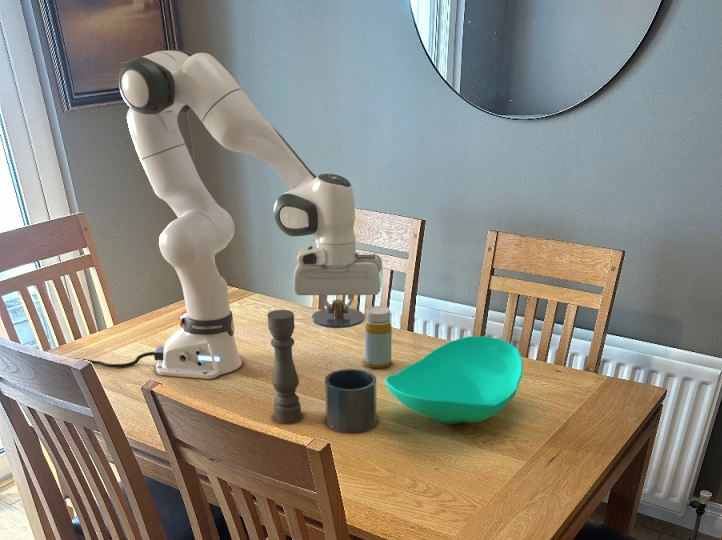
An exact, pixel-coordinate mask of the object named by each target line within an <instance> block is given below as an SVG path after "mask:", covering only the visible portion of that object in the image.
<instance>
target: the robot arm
mask: <svg viewBox="0 0 722 540" xmlns="http://www.w3.org/2000/svg"><path fill="white" fill-rule="evenodd" d="M118 88H119V91H120V94H121V97H122V98H123V100H124V102H125V103H126V105H127V106H128V107H129V108H128V109H127V114H126V120H127V124H128V128H129V132H130V135H131V138H132V141H133V144H134V147H135V150H136V153H137V155H138V157H139V160H140V162H141V165H142V166H143V169H144V171H145V174H146V175H147V178H148V180H149V183H150V185H151V187H152V190H153V192H154V194H155V195H156V196H157V197H158V198H159V199H160V200H163V201H164V202H165V203H166V204H167V205H168V207H170V208H171V209H172V211H173V212H174V214H175V215H176V217H177V218H176V219H174V220H172V221H170V223H168V224H167V226H165V228H164V229H163V230H162V232H161V233H160V235H159V237H158V238H159V239H158V247H159V250H160V254H161V255H162V257H163V258H164V259H165V262H167V263H168V264H170V266H172V267H173V268H174V270H175V272H176V274H177V276H178V279H179V281H180V285H181V288H182V294H183V298H184V305H185V309H183V310H182V311H181V313H180V317H179V326H180V327H181V328H179V329H178V330H177V331H176V332H175V333H173V334H172V335H171V336H170V337H169V338H168V339H167V340H166V342H165V344H164V346H163V345H162V346H161V345H158V346H157V347H156V349H154V351H149V352H144V353H141V354H139V355H137V356H136V358H135V359H134V360H133V361H130V362H127V363H107V362H104V361H100V360H93V359H87V358H82V359H83V360H88V361H90V362H92V365H97V366H98V365H99V366H102V367H106V368H112V369H113V368H116V369H117V368H127V367H132V366H134V365H136V364H138V363H139V361H140V360H141V359H143V358H146V357H149V356H150V357H151V356H153V357H154V360H155V361H157V362H156V365H155V370H156V373H157V374H158V375H159V376H160V375H161V376H169V377H180V378H181V377H182V378H194V379H205V380H206V379H207V380H212V379H216V378H217V377H219V376H221V375H224V374H227V373H232V372H234V371H236V370H237V369H239V368H240V367H241V366H242V365H243V359H242V358H241V355H240V353H239V350H238V346H237V344H236V338H235V323H234V321H235V320H234V317H233V312H232V310H231V306H230V298H229V297H230V296H229V289H228V283H227V281H226V279H225V278H224V277H223V276H221V274H220V272H219V269H218V267H217V264H216V261H215V260H216V259H215V257H216V254H218V253H219V252H221V251H223V250H224V249H226V248H227V246H228V245H229V244H230V242H232V239H233V237H234V235H235V230H236V229H235V223H234V220H233V218H232V216H231V214H230V213H229V212H228V211H227V210H225V209H224V208H223V207H221V206H220V205H219V204H218V203H217V201H216V200H215V198H213V196H212V194H211V193H210V192H209V191H208V189H207V187H206V186H205V183H203V181H202V179H201V177H200V175H199V173H198V170H197V169H196V166H195V164H194V161H193V159H192V156H191V154H190V152H189V149H188V147H187V144H186V141H185V139H184V137H183V135H182V133H181V130H180V127H179V124H178V116H179V113H180V112H181V113H187V112H188V111H189V109H191V110H192V111H193V112H194V113H195V115H196V116H197V117H198V119H199V120H200V122H201V124H203V126H204V127H205V128H206V131H208V133H209V134H210V135H211V137H212V138H213V139H214V140H215V141H216V142H218V144H220V146H222V147H223V148H224V149H226V150H228V151H231V152H235V153H239V154H244V155H245V154H246V155H250V156H253V157H256V158H257V159H260V160H262V161H264V162H265V163H266V164H267V165H269V167H270V168H271V169H272V170H273V171H274V172H275V174H276V175H277V176H278V177H279V178H280V180H282V182H283V183H284V185H286V187H287V188H288V189H289V190H288V191H285V192H283V193H282V194H281V195H280V196H278V198H277V199H276V200H275V202H274V206H273V216H274V220H275V223H276V225H277V227H278V228H279V229H280V231H281V232H282V233H284V234H285V235H287V236H289V237H305V236H310V235H311V236H312V235H313V236H314V237H315V243H313V244H310V245H306V246H304V247H301V248H299V250H298V252H297V255H296V259H297V263H296V265H295V268H294V273H293V292H294V294H295V295H297V296H320V298H321V301H322V303H323V305H324V306H325V309H326V311H327V313H333V306H332V303H330V302H329V301H328V296H347V300H348V301H347V302H346V303H343V309H344V310H343V313H350V307H351V305H352V303H353V302H354V300H355V296H377V295H379V293H380V292H381V278H380V272H381V271H382V269H383V260H382V257H380V255H378V254H376V252H369V253H366V252H356V247H357V246H356V235H355V230H354V226H355V222H356V208H355V207H356V206H355V195H354V190H353V186H352V184H351V182H350V181H349V180H348V178H345V177H344V176H341V175H339V174H335V173H321V174H318V175H316V174H315V173H314V172H312V171H311V169H310V168H309V167H308V166H307V165H306V163H305V162H304V160H302V159H301V157H299V155H298V154H297V152H296V151H295V150H294V149H293V148H292V146H291V145H290V144H289V142H287V141H286V140H285V138H284V136H282V135H281V134H280V133H279V132H278V131H277V129H276V128H274V126H273V125H272V124H271V123H270V122H269V121H268V120H267V119H266V118H265V117H264V116H263V115H262V113H261V112H260V111H259V110H258V108H257V107H256V106H255V105H254V104H253V102H252V101H251V99H250V98H249V97H248V95H247V94H246V93H245V91H244V90H243V88H242V87H241V86H240V84H238V82H237V80H235V78H234V77H233V75H232V74H230V72H229V71H228V70H227V68H225V67H224V66H223V65H222V64H221V63H220V62H219V61H218V60H217V59H216V58H215V56H213V55H211V54H210V53H207V52H198V53H197V52H196V53H193V52H191V51H189V50H185V49H179V48H178V49H177V48H176V49H172V50H157V51H154V52H152V53H149V54H146V55H143V56H137V57H133V58H132V59H130V60H128V61H127V62H125V63H124V65H122V67H121V68H120V71H119V74H118ZM75 359H81V358H77V357H76V358H75Z"/></svg>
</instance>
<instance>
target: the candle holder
mask: <svg viewBox="0 0 722 540" xmlns="http://www.w3.org/2000/svg"><path fill="white" fill-rule="evenodd" d="M266 315H267V324H268V325H267V327H268V331H269V333H270V335H271V336H272V339H271V340H270V344H271V346H272V347H273V349H274V364H273V371H272V376H271V383H272V386H273V388H274V390H275V391H276V395H275V398H274V404H273V411H274V419H275V421H276V422H277V423H280V424H284V425H285V424H287V425H289V424H294V423H297V422H299V421H300V420H301V419H302V409H301V408H302V407H301V402H300V398H299V395H298V394H297V393H296V392H297V388H298V386H299V384H300V378H299V375H298V372H297V369H296V366H295V362H294V360H293V346H294V345H295V339H294V338H292V336H293V334H294V330H295V328H296V326H295V314H294V312H293V311H291V310H287V309H275V310H272V311H271V310H270V311H269V312H268V313H267V314H266Z"/></svg>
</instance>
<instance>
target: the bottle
mask: <svg viewBox="0 0 722 540" xmlns="http://www.w3.org/2000/svg"><path fill="white" fill-rule="evenodd" d="M392 329H393V328H392V325H391V309H390V308H389V307H387V306H382V305H375V306H369V307H367V308H366V324H365V327H364V361H365V364H366V365H367V366H368V367H369V368H371V369H385V368H387V367H389V366H390V365H391V363H392V337H393V336H392V334H393V333H392V331H393V330H392Z"/></svg>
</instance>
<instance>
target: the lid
mask: <svg viewBox="0 0 722 540" xmlns="http://www.w3.org/2000/svg"><path fill="white" fill-rule="evenodd" d="M331 302H332V303H331V304H332V306H333V313H327V311H326V308H323V309H319V310H317V311H315V312H314V313H313V314H312V315H311V321H312V322H313V324H315V325H316V326H319V327H323V328H329V329H346V328H353V327H355V326H359V325H361V324H362V323H363V322H364V321H365V319H366V315H365V314H364V313H363V311H360V310H359V309H356V308H352V307H351V308H350V313H343V310H344V309H343V304H344V300H342V299H334V300H332V301H331Z"/></svg>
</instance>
